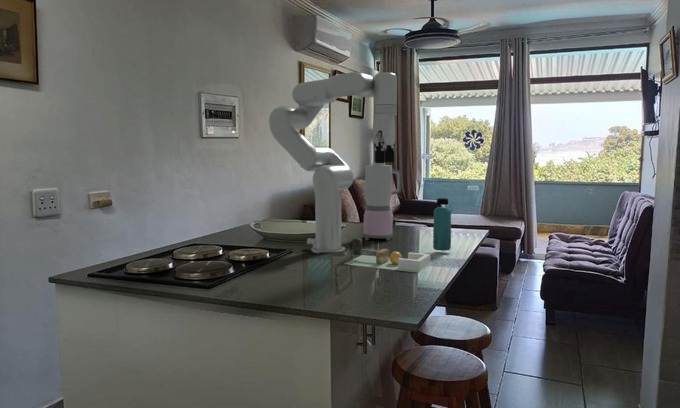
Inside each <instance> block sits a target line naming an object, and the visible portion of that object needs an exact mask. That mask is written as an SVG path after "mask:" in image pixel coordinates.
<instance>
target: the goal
mask: <svg viewBox="0 0 680 408" xmlns="http://www.w3.org/2000/svg"><path fill="white" fill-rule="evenodd" d="M430 262H431V254H430V253H420V252H411V251H410V252H408V253H407V258H403V257H402V258H399V259H398V269H406V270H415V271H421V270H422V269H423V268H425V267H426V266H427V267H429V266H430V265H431V264H430ZM429 264H430V265H429ZM428 265H429V266H428ZM427 267H426V268H427ZM426 268H425V269H426ZM423 270H424V269H423ZM423 270H422V271H423ZM422 271H421V272H422Z"/></svg>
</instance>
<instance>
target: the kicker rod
mask: <svg viewBox="0 0 680 408" xmlns="http://www.w3.org/2000/svg"><path fill="white" fill-rule="evenodd" d="M352 255H357V256H361V255H368V256H376V263H379V264H383V263H384V262H386V261H388V260H389V258H390V249H388V248H382V249H380V250H376V249H368V248H367V249H366V248H363V238H359V237H354V238H352Z"/></svg>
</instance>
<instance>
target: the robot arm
mask: <svg viewBox="0 0 680 408" xmlns="http://www.w3.org/2000/svg"><path fill="white" fill-rule="evenodd" d="M397 88H398V77H397V74H396V73H393V72H387V71H386V72H378V73H376V74H375V75H372V74H367V73H364V72H358V71H356V72H354V71H352V72H345V73H340V74H335V75H333V76H331V77H330V76H329V78H323V79H318V80H317V79H316V80H312V81H305V82H300V83H298V84H297V85H295V86H294V88H293V89H292V93H291V96H292V99H293V100H294V102H295V103H296V104H298V105H299V106H286V105H285V106H284V105H283V106H278V107H276V108H274V109H273V110H271V112H270V115H269V120H268V123H269V124H268V125H269V129H270V132H271V135H272V137H274V140H276V142H277V143H278V144H279V145H280V146H281V147H282V148H283V149H284V150H285V151H286V152H287V153H288V154H289V155H290V156H291V157H292V159H293V160H294V161H295V162H296V163H297V164H298V165H299V166H300V167H301V168H302V169H303V170H304V171H306V172H313V175H312V185H313V190H314V203H315V204H314V206H315V207H314V208H315V209H314V210H315V238H310V237H309V238H307V239H306V244H307V245H311V246H312V247H311V252H312V253H314V254H320V253H338V252H343V251H345V250H346V247H345V246H343V245H342V210H343V209H342V199H341V195H340V192H339V191H342V190H346V189H348V188H350V187H351V186H352V185H353V183H354V172H353V171H352V169H351V167H350V166H349V165H348V164H347V163H346V162H345V161H344V160H343V159H342V158H341V157H340V156H339V155H338V154H337V153H336V151H334V150H333V149H332V148H330V147H328V146H324V145H314V144H312V143H311V142H310V141H309V140H308V139H307V138H306V137H305V136H304V135H303V134H302V133H300V132H299V131H300V130H305V129H306V128H308V127H309V126H310V125H311V124H312V122H313V121H314V120H315V118H316V116H317V115H318V114H319V113H320V112H321V110H322V109H323V107H324V106H325V104H332V103H335V102H336V101H337V99H338V98H342V97H350V96H356V97H357V96H358V97H362V98H370V99H371V98H373V116H374V117H373V119H374V120H373V125H372V144H373V145H374V162H375V163H385V164H386V163H394V162H395V145H396V144H395V142H396V123H395V121H396V120H395V116H397V107H398V106H397V102H398V101H397V99H398V98H397V97H398V95H397V94H398V93H397V92H398V89H397ZM297 130H298V131H297Z"/></svg>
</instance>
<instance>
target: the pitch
mask: <svg viewBox="0 0 680 408" xmlns="http://www.w3.org/2000/svg"><path fill="white" fill-rule="evenodd" d="M433 263H434V262H432V261H430V264H429V265H428V266H426V267H425V268H423V269H422V270H421V271H415V270H406V269H398V264H393V263H392V262H391V261H390V257H389V260H388V261H386V262H384V263H383V264H379V263H376V255H368V254H361V255H358V256H356V257H355V258H353V259H351V260H349V261H348V262H347V261H346V262H344V263H343V265H350V266H357V267H364V268H365V267H366V268H375V269H384V270H392V271H400V272H407V273H408V272H409V273H418V274H419V273H421V272H422V271H423V270H425V269H427V267H429V266H430V265H431V264H433Z"/></svg>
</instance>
